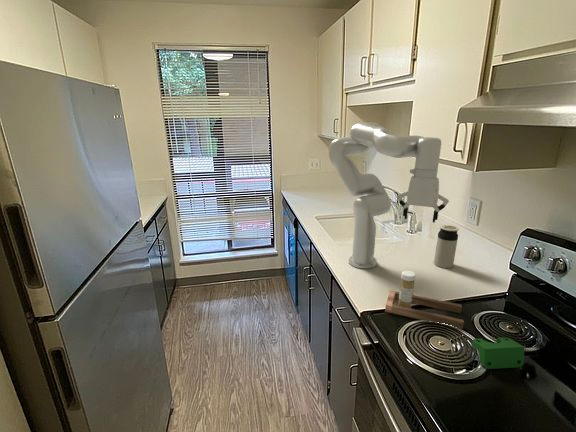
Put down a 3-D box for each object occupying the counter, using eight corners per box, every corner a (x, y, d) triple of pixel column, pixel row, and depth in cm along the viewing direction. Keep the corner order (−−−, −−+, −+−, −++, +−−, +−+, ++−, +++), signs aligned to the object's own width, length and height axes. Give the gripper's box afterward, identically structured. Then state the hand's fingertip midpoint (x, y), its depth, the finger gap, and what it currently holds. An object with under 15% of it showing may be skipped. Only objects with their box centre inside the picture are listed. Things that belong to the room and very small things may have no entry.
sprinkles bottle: (401, 302, 118) (405, 268, 114) (413, 306, 115) (417, 272, 111) (395, 307, 115) (399, 273, 111) (408, 312, 112) (412, 277, 108)
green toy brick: (500, 368, 94) (513, 339, 93) (516, 379, 88) (530, 349, 87) (464, 354, 93) (476, 324, 92) (477, 364, 87) (491, 333, 86)
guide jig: (389, 296, 122) (389, 290, 122) (460, 310, 113) (461, 304, 112) (385, 311, 113) (385, 305, 112) (462, 329, 104) (463, 322, 103)
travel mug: (456, 266, 146) (463, 228, 141) (445, 270, 143) (451, 231, 137) (441, 259, 153) (447, 223, 147) (429, 263, 149) (435, 226, 144)
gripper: (398, 173, 114) (393, 219, 119) (453, 177, 108) (445, 226, 113) (400, 170, 121) (396, 214, 126) (452, 173, 114) (445, 219, 119)
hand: (419, 219), depth 119 cm, fingers open, 9 cm apart
